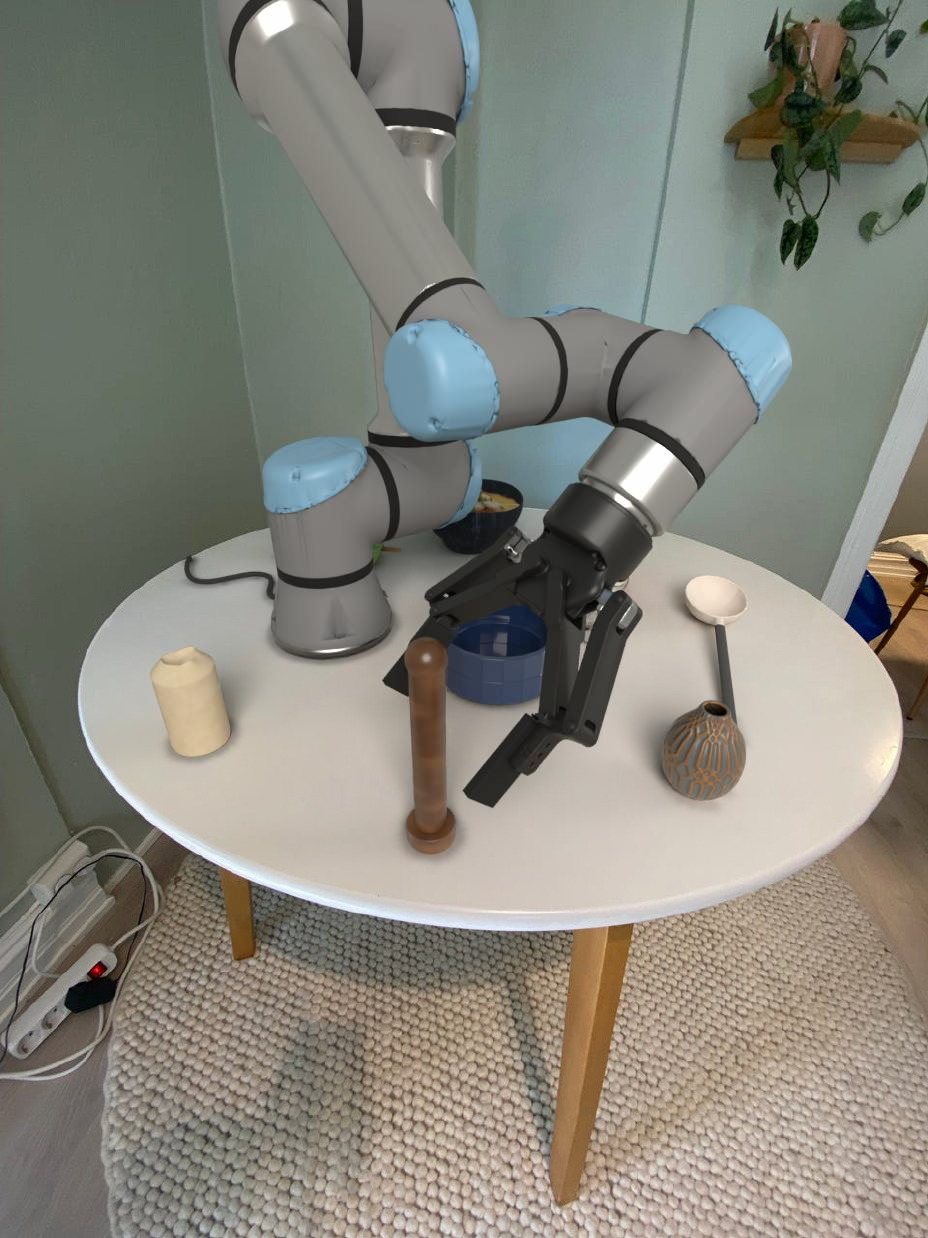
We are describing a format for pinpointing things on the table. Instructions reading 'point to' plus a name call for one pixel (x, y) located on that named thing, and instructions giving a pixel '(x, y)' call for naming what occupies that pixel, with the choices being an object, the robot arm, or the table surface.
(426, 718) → the brown wooden post
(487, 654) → the blue bowl
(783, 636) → the table surface
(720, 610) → the ladle
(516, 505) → the bowl
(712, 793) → the vase
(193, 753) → the candle
